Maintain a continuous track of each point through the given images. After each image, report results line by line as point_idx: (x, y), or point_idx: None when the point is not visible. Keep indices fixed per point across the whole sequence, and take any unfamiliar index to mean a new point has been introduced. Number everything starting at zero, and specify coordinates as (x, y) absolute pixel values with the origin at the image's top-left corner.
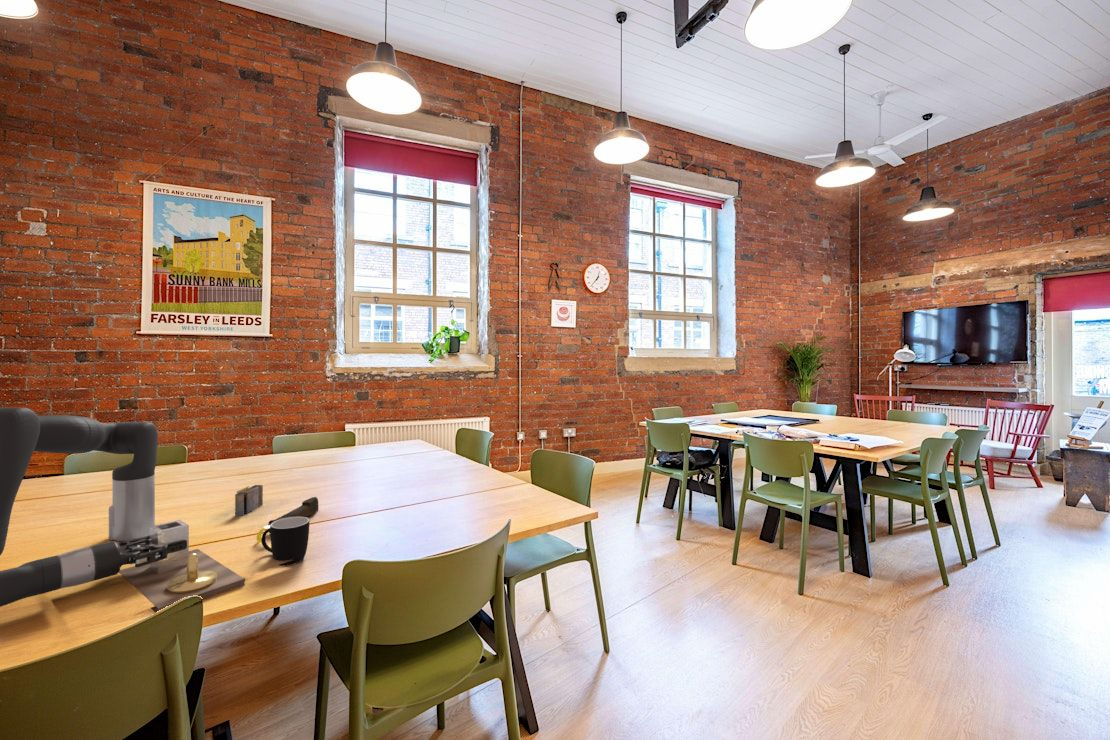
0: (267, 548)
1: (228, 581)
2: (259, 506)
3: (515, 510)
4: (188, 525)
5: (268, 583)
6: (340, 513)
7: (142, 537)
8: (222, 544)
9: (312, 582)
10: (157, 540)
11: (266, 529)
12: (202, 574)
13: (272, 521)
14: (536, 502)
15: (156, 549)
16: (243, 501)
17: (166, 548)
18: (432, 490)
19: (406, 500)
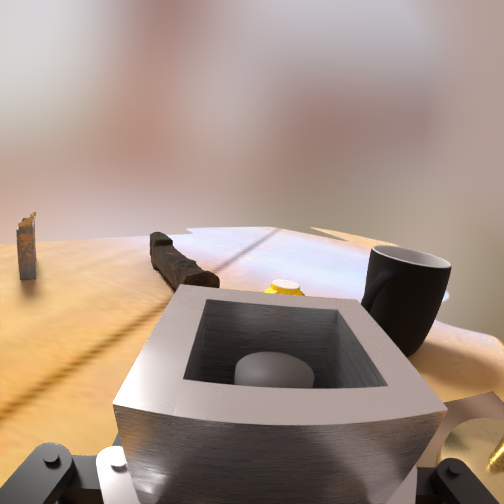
0: None
1: (499, 411)
2: (35, 260)
3: (357, 242)
4: (357, 303)
5: (486, 380)
6: (203, 259)
7: (18, 472)
8: (136, 359)
9: (495, 347)
10: (395, 477)
11: (296, 290)
12: (474, 443)
13: (196, 277)
14: (347, 236)
15: (461, 502)
16: (33, 246)
17: (457, 462)
18: (229, 229)
19: (236, 239)
